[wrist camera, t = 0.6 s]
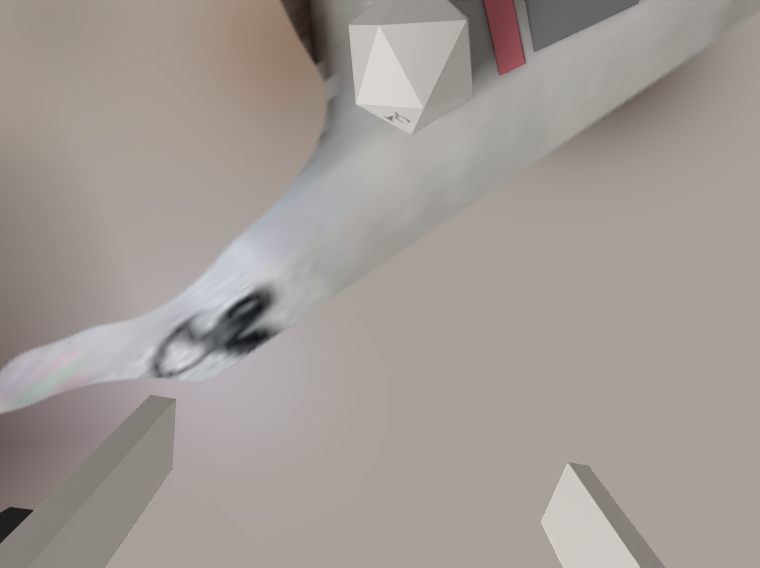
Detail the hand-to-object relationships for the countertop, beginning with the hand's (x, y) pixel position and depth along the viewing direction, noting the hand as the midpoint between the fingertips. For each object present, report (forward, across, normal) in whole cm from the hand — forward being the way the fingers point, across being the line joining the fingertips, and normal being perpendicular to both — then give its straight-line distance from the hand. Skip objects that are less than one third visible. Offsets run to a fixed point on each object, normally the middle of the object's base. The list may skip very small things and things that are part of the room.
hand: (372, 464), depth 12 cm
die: (+22, -1, +18) cm, 28 cm away
